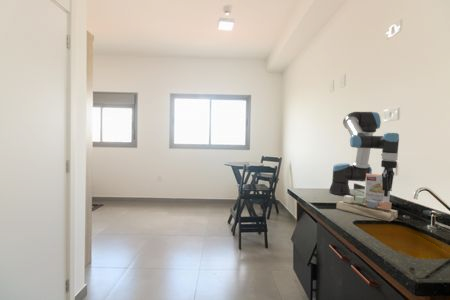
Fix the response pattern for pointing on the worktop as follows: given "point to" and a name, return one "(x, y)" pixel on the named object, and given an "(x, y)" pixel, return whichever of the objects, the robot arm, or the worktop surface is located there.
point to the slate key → (372, 204)
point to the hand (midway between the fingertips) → (386, 201)
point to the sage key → (360, 200)
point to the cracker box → (373, 188)
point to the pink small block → (385, 206)
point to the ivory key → (348, 199)
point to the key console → (367, 211)
